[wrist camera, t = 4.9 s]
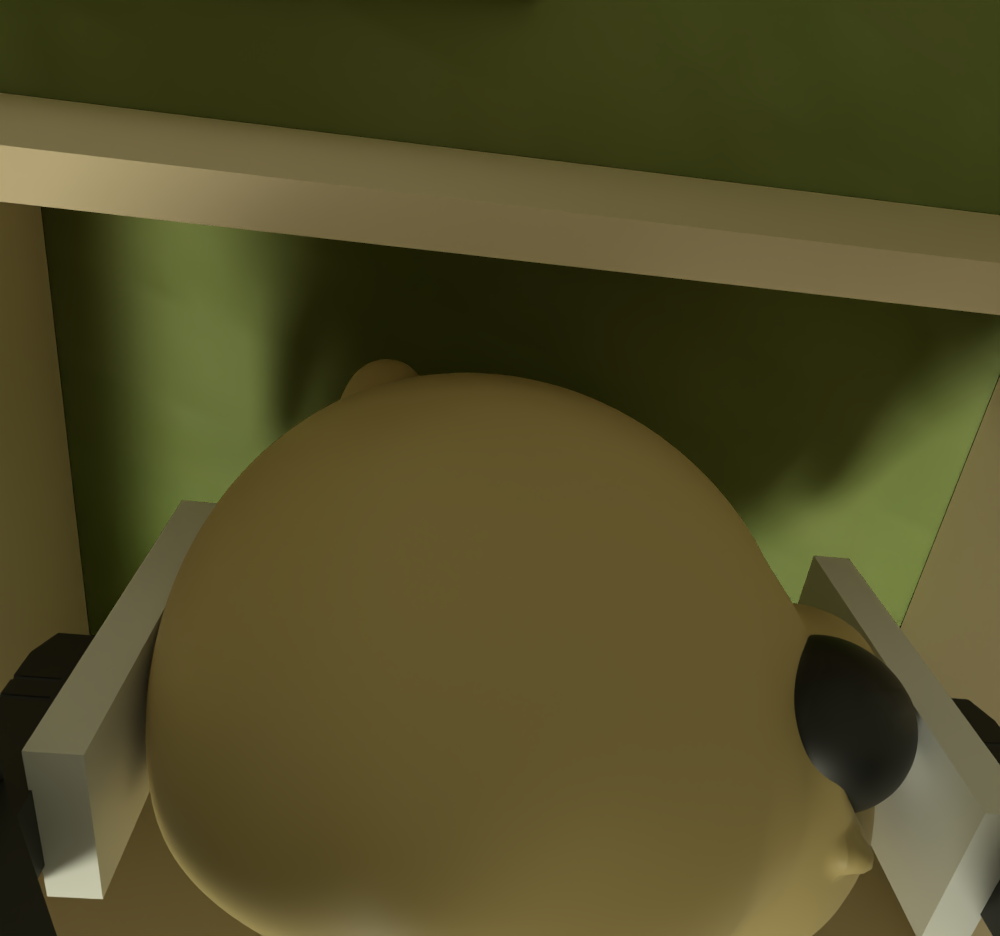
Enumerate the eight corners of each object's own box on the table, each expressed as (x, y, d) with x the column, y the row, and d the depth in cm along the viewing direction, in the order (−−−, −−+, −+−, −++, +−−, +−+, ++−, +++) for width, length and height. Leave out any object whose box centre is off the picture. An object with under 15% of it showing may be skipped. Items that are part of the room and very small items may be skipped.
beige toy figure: (620, 765, 23) (727, 1292, 13) (183, 594, 20) (-87, 1108, 10) (854, 472, 19) (1248, 913, 9) (356, 209, 16) (185, 454, 6)
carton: (-230, 64, 16) (-639, 69, 10) (1268, 247, 18) (1642, 339, 12) (-77, 728, 23) (-265, 956, 17) (988, 802, 25) (1142, 1027, 19)
